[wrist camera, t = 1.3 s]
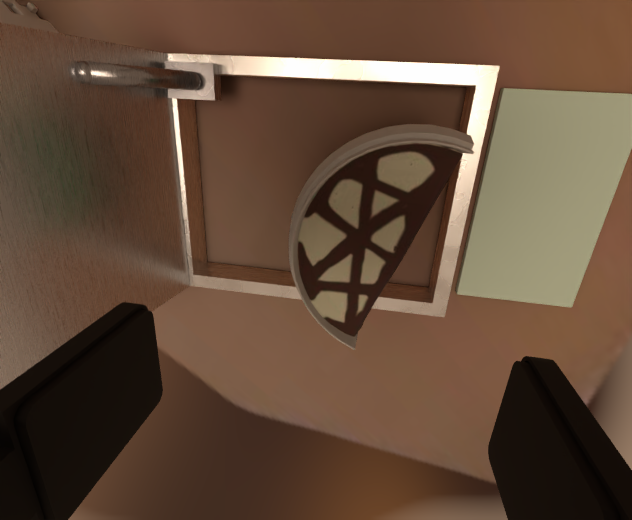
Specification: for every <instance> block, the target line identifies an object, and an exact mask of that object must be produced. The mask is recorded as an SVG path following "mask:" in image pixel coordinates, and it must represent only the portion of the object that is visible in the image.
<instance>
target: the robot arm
mask: <svg viewBox="0 0 632 520" xmlns="http://www.w3.org/2000/svg"><path fill="white" fill-rule="evenodd" d="M162 391H163V389H162V381H161V372H160V365H159V358H158V349H157V341H156V333H155V326H154V318H153V314H152V312H151V311H148V308H147V306H145V305H143V304H136V303H129V302H122V303H120V304H119V305H117V306H116V307H114V308H113V309H112V310H110V311H109V312H107V313H106V314H105V315H103V316H102V317H100V318H99V319H98V320H96V321H95V322H94V323H92V324H91V325H89V326H88V327H87V328H85V329H84V330H82V331H81V332H80V333H78V334H77V335H75V336H74V337H73V338H71V339H70V340H68V341H67V342H66V343H64V344H63V345H62V346H60V347H59V348H57V349H56V350H55V351H53V352H52V353H50V354H49V355H48V356H46V357H45V358H43V359H42V360H41V361H39V362H38V363H36V364H35V365H34V366H32V367H31V368H30V369H28V370H27V371H25V372H24V373H23V374H21V375H20V376H18V377H17V378H16V379H14V380H13V381H11V382H10V383H9V384H7V385H6V386H4V387H3V388H2V389H0V520H68V519H69V518H70V517H71V515H72V514H73V513H74V511H75V510H76V509H77V507H78V506H79V505H80V504H81V502H82V501H83V500H84V498H85V497H86V496H87V495H88V493H89V492H90V491H91V489H92V488H93V487H94V486H95V484H96V483H97V481H98V480H99V479H100V478H101V477H102V475H103V474H104V473H105V472H106V470H107V469H108V468H109V466H110V465H111V464H112V462H113V461H114V460H115V459H116V457H117V456H118V454H119V453H120V452H121V451H122V450H123V448H124V447H125V445H126V444H127V443H128V442H129V440H130V439H131V438H132V437H133V435H134V434H135V433H136V431H137V430H138V429H139V428H140V426H141V425H142V424H143V422H144V421H145V420H146V419H147V417H148V416H149V414H150V413H151V412H152V411H153V410H154V408H155V407H156V406H157V404H158V403H159V401H160V399H161V396H162ZM488 454H489V460H490V464H491V467H492V470H493V473H494V476H495V480H496V483H497V486H498V489H499V492H500V495H501V498H502V502H503V505H504V508H505V511H506V515H507V518H508V520H632V470H631V469H630V468H629V466H628V464H626V462H625V460H624V459H623V458H622V456H621V455H620V453H619V452H618V450H617V449H616V448H615V446H614V445H613V443H612V442H611V440H610V439H609V438H608V436H607V435H606V433H605V432H604V431H603V429H602V428H601V426H600V425H599V424H598V422H597V421H596V419H595V418H594V416H593V415H592V414H591V412H590V411H589V409H588V408H587V406H586V405H585V404H584V402H583V401H582V399H581V398H580V397H579V395H578V394H577V392H576V391H575V389H574V388H573V387H572V385H571V384H570V382H569V381H568V380H567V378H566V377H565V375H564V374H563V372H562V371H561V370H560V368H559V367H558V365H557V364H556V363H555V362H554V361H553V360H550V359H543V358H536V357H529V356H526V357H524V358H523V359H522V361H521V362H520V361H516V362H515V363H514V364H513V367H512V370H511V373H510V377H509V380H508V383H507V386H506V390H505V393H504V396H503V399H502V403H501V406H500V409H499V413H498V416H497V419H496V422H495V426H494V429H493V432H492V435H491V439H490V442H489V447H488Z"/></svg>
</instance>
